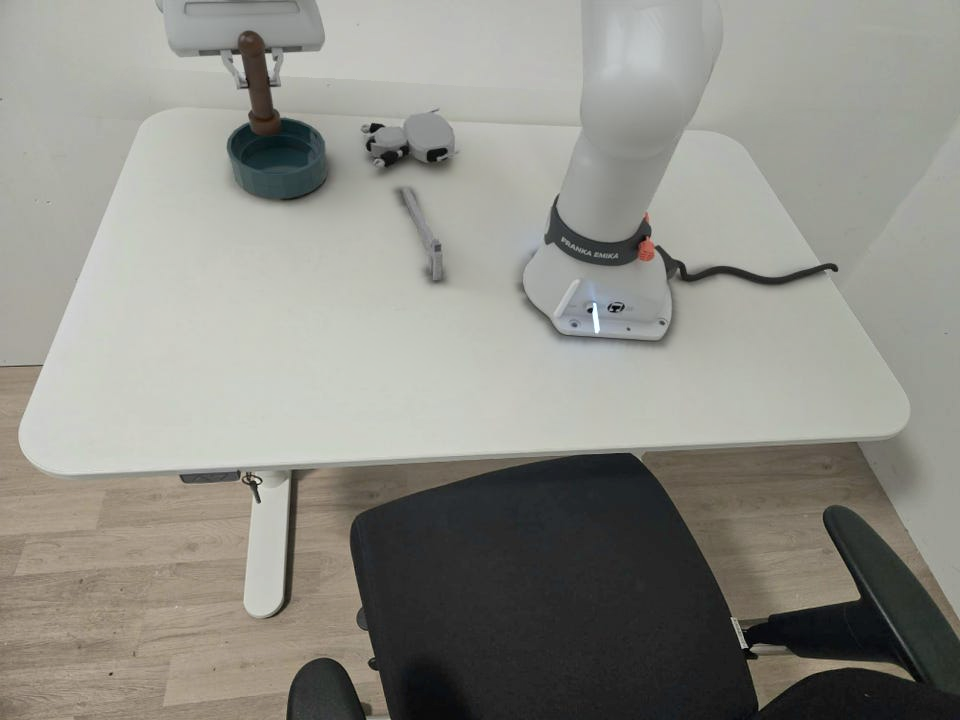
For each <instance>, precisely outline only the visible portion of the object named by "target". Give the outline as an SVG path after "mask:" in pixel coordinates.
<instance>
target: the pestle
mask: <svg viewBox="0 0 960 720" xmlns="http://www.w3.org/2000/svg"><path fill="white" fill-rule="evenodd" d="M237 44H238V48H239V50H240V52H241V55H240V56H241V61H242V65H243V70H244V71H243V72H245V75H246V81H247V84H248V89H247V91H248V97H249V101H250V107H251V109H250V110H249V111H248V113H247V117H248V122H250V127H251V130H252V131H253V132H254V133H256V134H258V135H262V136H271V135H275V134H277V133H278V132H280V130H281V128H282V125H281V119H280V117H281V114H280V111H279V110H278V109H276V108H275V107H274V100H273V96H272V95H273V94H272V89H271V88H272V87H270V83H269V77H268V71H269V69H268V65H267V57H266V54H265V43H264V40H263V39H262V37H261V36H260V35H259V34H258V33H256V32H254V31H250V30H247V31H244V32H242V33H241V34H240V35H239V37H238V41H237Z"/></svg>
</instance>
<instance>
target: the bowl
mask: <svg viewBox="0 0 960 720" xmlns="http://www.w3.org/2000/svg"><path fill="white" fill-rule="evenodd" d="M280 119H281V125H282V128H281V130H280V132H278V133H277V134H275V135H271V136H262V135H258V134H256V133H254V132H253V131H252V130H251V127H250V122H249V121H248V122H245V123H243V124H242V125H240V126H239V127H237V128H236V129H234V130H233V131H232V132H231V134H230V135H229V137H228V138H227V142H226V152H227V155H228V160H229V163H230V167H231V172H232V174H233V177H234V180H235V182H236V183H238V185H239V186H240V187H241V188H242V189H244V190H245V191H247V192H249V193H251V194H252V195H255V196H259V197H263V198H268V199H281V200H282V199H292V198H296V197H302V196H305V195H306V194H308V193H310V192H312V191H315V190H316V189H317V188H318V187H320V186H321V185H322V184H323V183H324V180H325V179H326V177H327V176H328V161H327V160H328V159H327V150H326V141H325V140H324V138H323V136H322V134H321V133H320V132H319V131H318V130H317V129H316V128H315V127H314V126H312V125H310V124H308V123H306V122H304V121H302V120H299V119H293V118H289V117H281V116H280Z"/></svg>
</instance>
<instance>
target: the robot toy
mask: <svg viewBox="0 0 960 720" xmlns="http://www.w3.org/2000/svg"><path fill="white" fill-rule="evenodd" d="M440 110H441V108H439V107H437V108H435V109H433V110H430V111H428V112H424V113H423V112H422V113H417V114H411V115H409V117H407V118H405V120H404V122H403V126H402V127H403V128H401V126H386V125H384V124H383V123H377V122H371V123H370V125H369V124H368V123H366V124H362V125H361V128H360V131H361V132H362V133H363V134H369V135H368V140H367V141H366V143H365V148H366V150H367V151H368V152H369V153H371V155H372V156H373V157H374V158H376V159H374V160H373V163H372V165H373V166H374V167H375V168H377V169H382V168H389V167H392V166H393V165H395V164H396V163H397V160H398V159H399V158H401V157H402V158H403V157H407V156H409V155H410V154H411V156H412V157H414V158H415V159H416V160H418V161H420V162H423V163H426V164H429V163H436V162H437V163H438V162H442V161H447V160H449V158H451V157H452V156H453V155H457V154H460V152H461V149H457V150H455V144H456V143H455V142H456V139H455V138H456V137H455V133H454V128H453V127H452V125H450V124H449V122H448V121H447V120H446V119H445V118H444V117H442V116H441V115H440V114H437V112H439V111H440Z"/></svg>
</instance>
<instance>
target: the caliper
mask: <svg viewBox="0 0 960 720" xmlns="http://www.w3.org/2000/svg"><path fill="white" fill-rule="evenodd" d="M400 190H401V193H402V197H403V200H404V202H405V204H406V206H407V208H408V210H409V212H410V214H411V217H412V219H413V221H414V223H415V225H416V227H417V230H418V232H419V233H420V236H421V238H422V245H423V247H424V249H425V251H427V252H428V265H429V274H430V275H432V281H438V280H441V279H442V272H443V271H442V270H443V252H442V243H440V238H436V237H435V235H434V233H433V231H432V229H431V227H430V226H428V224H427V222H426V219H425V217H424V215H423V213H422V211H421V209H420V207H419V206H418V203H417V201H416V200H415V197H414V195H413V193H412V191H411V189H410V188H409V187H402V188H400Z"/></svg>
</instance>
